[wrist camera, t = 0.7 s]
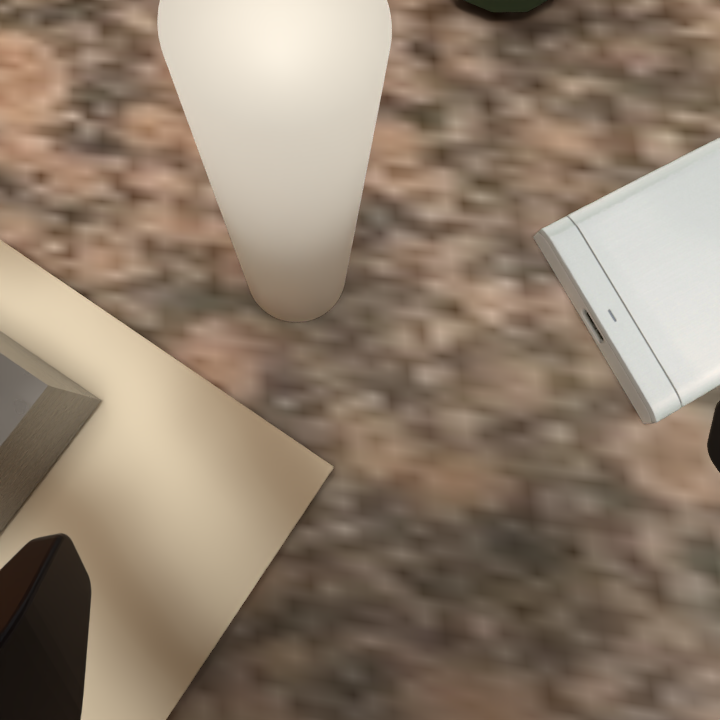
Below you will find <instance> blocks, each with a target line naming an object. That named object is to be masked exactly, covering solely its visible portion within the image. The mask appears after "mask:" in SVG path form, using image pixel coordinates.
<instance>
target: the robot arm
mask: <svg viewBox="0 0 720 720" xmlns="http://www.w3.org/2000/svg"><path fill="white" fill-rule="evenodd" d="M707 448H708V453H709V456H710V458H711V460H712V462H713V464H714V465H715V467H716V468H717V470H718V471H719V472H720V401H719V402H718V403H717V405H716V408H715V412H714V416H713V420H712V425H711V429H710V433H709V438H708V443H707ZM91 594H92V591H91V582H90V578H89V575H88V573H87V571H86V569H85V567H84V564H83V562H82V560H81V558H80V556H79V554H78V552H77V550H76V548H75V546H74V544H73V541H72V540H71V538H70V537H69V536H68V535H67V534H64V533H58V534H53V535H48V536H43V537H38V538H35V539H32V540H30V541H29V542H28V543H27V544H25V545H24V546H23V547H22V548H21V549H20V550H19V551H18V552H17V553H16V554H15V555H14V556H13V557H12V558H11V559H10V560H9V561H8V562H7V563H6V564H5V565H4V566H3V567H2V568H1V569H0V720H81V714H82V705H83V695H84V684H85V671H86V658H87V646H88V633H89V621H90V608H91Z"/></svg>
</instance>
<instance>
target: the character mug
mask: <svg viewBox="0 0 720 720" xmlns="http://www.w3.org/2000/svg"><path fill="white" fill-rule="evenodd" d="M464 1H466V2H469V3H471V4H474V5H476V6H478V7H481V8H483V9H486V10H488V11H491V12H528V11H530V10H531V9H533V8H535V7H537V6H538V5H540V4H542V3H544V2H546V1H547V0H464Z"/></svg>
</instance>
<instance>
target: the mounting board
mask: <svg viewBox="0 0 720 720" xmlns="http://www.w3.org/2000/svg"><path fill="white" fill-rule="evenodd" d="M0 331H1V332H3V333H4V334H5V335H7V336H8V337H10V338H11V339H13V340H14V341H16V342H17V343H19V344H20V345H21V346H23V347H24V348H26V349H27V350H29V351H30V352H32V353H33V354H35V355H36V356H38V357H39V358H40V359H42V360H43V361H45V362H46V363H48V364H49V365H51V366H52V367H54V368H55V369H56V370H58V371H59V372H61V373H62V374H64V375H65V376H67V377H68V378H70V379H71V380H73V381H74V382H75V383H77V384H78V385H80V386H81V387H83V388H84V389H86V390H87V391H89V392H90V393H92V394H93V395H94V396H96V397H97V398H99V399H100V400H101V402H100V403H99V404H98V406H97V407H96V408H95V410H94V411H93V412H92V413H91V415H90V416H89V417H88V419H87V420H86V421H85V423H84V424H83V425H82V427H81V428H80V429H79V431H78V432H77V433H76V434H75V436H74V437H73V438H72V440H71V441H70V442H69V444H68V445H67V446H66V448H65V449H64V450H63V451H62V453H61V454H60V455H59V457H58V458H57V459H56V461H55V462H54V463H53V465H52V466H51V467H50V468H49V470H48V471H47V472H46V474H45V475H44V476H43V478H42V479H41V480H40V482H39V483H38V484H37V486H36V487H35V488H34V489H33V491H32V492H31V493H30V495H29V496H28V497H27V499H26V500H25V501H24V503H23V504H22V505H21V506H20V508H19V509H18V510H17V512H16V513H15V514H14V516H13V517H12V518H11V520H10V521H9V522H8V523H7V525H6V526H5V527H4V529H3V530H2V531H1V533H0V569H1V568H2V567H3V566H4V565H5V564H6V563H7V562H8V561H9V560H10V559H11V558H12V557H13V556H14V555H15V554H16V553H17V552H18V551H19V550H20V549H21V548H22V547H23V546H24V545H25V544H27V543H28V542H29V541H30V540H32V539H35V538H38V537H43V536H48V535H53V534H58V533H64V534H67V535H68V536H69V537H70V538H71V540H72V541H73V544H74V546H75V548H76V550H77V552H78V554H79V556H80V558H81V560H82V562H83V564H84V567H85V569H86V571H87V573H88V575H89V578H90V582H91V591H92V594H91V608H90V621H89V633H88V646H87V658H86V671H85V684H84V695H83V705H82V714H81V720H166V719H167V717H168V716H169V714H170V713H171V711H172V710H173V708H174V707H175V705H176V704H177V702H178V701H179V699H180V698H181V696H182V695H183V693H184V692H185V690H186V689H187V687H188V686H189V684H190V683H191V681H192V680H193V678H194V677H195V675H196V674H197V672H198V671H199V669H200V668H201V666H202V665H203V663H204V662H205V660H206V659H207V657H208V656H209V654H210V653H211V651H212V650H213V648H214V647H215V645H216V644H217V642H218V641H219V639H220V638H221V636H222V635H223V633H224V632H225V630H226V629H227V627H228V626H229V624H230V623H231V621H232V620H233V618H234V617H235V615H236V614H237V612H238V611H239V609H240V608H241V606H242V605H243V603H244V602H245V600H246V598H247V597H248V595H249V594H250V592H251V591H252V589H253V588H254V586H255V585H256V583H257V582H258V580H259V579H260V577H261V576H262V574H263V573H264V571H265V570H266V568H267V567H268V565H269V564H270V562H271V561H272V559H273V558H274V556H275V555H276V553H277V552H278V550H279V549H280V547H281V546H282V544H283V543H284V541H285V540H286V538H287V537H288V535H289V534H290V532H291V531H292V529H293V528H294V526H295V525H296V523H297V522H298V520H299V519H300V517H301V516H302V514H303V513H304V511H305V510H306V508H307V507H308V505H309V504H310V502H311V501H312V499H313V498H314V496H315V495H316V493H317V492H318V490H319V489H320V487H321V486H322V484H323V483H324V481H325V480H326V478H327V477H328V475H329V474H330V472H331V471H332V469H333V468H334V467H333V466H332V465H330V464H329V463H327V462H326V461H324V460H323V459H321V458H320V457H319V456H317V455H316V454H314V453H313V452H311V451H310V450H308V449H307V448H305V447H304V446H302V445H301V444H299V443H298V442H296V441H295V440H294V439H292V438H291V437H289V436H288V435H286V434H285V433H283V432H282V431H280V430H279V429H277V428H276V427H274V426H273V425H272V424H270V423H269V422H267V421H266V420H264V419H263V418H261V417H260V416H258V415H257V414H255V413H254V412H252V411H251V410H250V409H248V408H247V407H245V406H244V405H242V404H241V403H239V402H238V401H236V400H235V399H233V398H232V397H230V396H229V395H227V394H226V393H225V392H223V391H222V390H220V389H219V388H217V387H216V386H214V385H213V384H211V383H210V382H208V381H207V380H205V379H204V378H203V377H201V376H200V375H198V374H197V373H195V372H194V371H192V370H191V369H189V368H188V367H186V366H185V365H183V364H182V363H180V362H179V361H178V360H176V359H175V358H173V357H172V356H170V355H169V354H167V353H166V352H164V351H163V350H161V349H160V348H158V347H157V346H156V345H154V344H153V343H151V342H150V341H148V340H147V339H145V338H144V337H142V336H141V335H139V334H138V333H136V332H135V331H134V330H132V329H131V328H129V327H128V326H126V325H125V324H123V323H122V322H120V321H119V320H117V319H116V318H114V317H113V316H111V315H110V314H109V313H107V312H106V311H104V310H103V309H101V308H100V307H98V306H97V305H95V304H94V303H92V302H91V301H89V300H88V299H87V298H85V297H84V296H82V295H81V294H79V293H78V292H76V291H75V290H73V289H72V288H70V287H69V286H67V285H66V284H65V283H63V282H62V281H60V280H59V279H57V278H56V277H54V276H53V275H51V274H50V273H48V272H47V271H45V270H44V269H42V268H41V267H40V266H38V265H37V264H35V263H34V262H32V261H31V260H29V259H28V258H26V257H25V256H23V255H22V254H20V253H19V252H18V251H16V250H15V249H13V248H12V247H10V246H9V245H7V244H6V243H4V242H3V241H1V240H0Z"/></svg>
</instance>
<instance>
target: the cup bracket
mask: <svg viewBox="0 0 720 720" xmlns="http://www.w3.org/2000/svg"><path fill="white" fill-rule="evenodd" d="M100 402H101V400H100V399H99V398H97V397H96V396H94V395H93V394H92V393H90V392H89V391H87V390H86V389H84V388H83V387H81V386H80V385H78V384H77V383H75V382H74V381H73V380H71V379H70V378H68V377H67V376H65V375H64V374H62V373H61V372H59V371H58V370H56V369H55V368H54V367H52V366H51V365H49V364H48V363H46V362H45V361H43V360H42V359H40V358H39V357H38V356H36V355H35V354H33V353H32V352H30V351H29V350H27V349H26V348H24V347H23V346H21V345H20V344H19V343H17V342H16V341H14V340H13V339H11V338H10V337H8V336H7V335H5V334H4V333H3V332H1V331H0V533H1V531H2V530H3V529H4V527H5V526H6V525H7V523H8V522H9V521H10V520H11V518H12V517H13V516H14V514H15V513H16V512H17V510H18V509H19V508H20V506H21V505H22V504H23V503H24V501H25V500H26V499H27V497H28V496H29V495H30V493H31V492H32V491H33V489H34V488H35V487H36V486H37V484H38V483H39V482H40V480H41V479H42V478H43V476H44V475H45V474H46V472H47V471H48V470H49V468H50V467H51V466H52V465H53V463H54V462H55V461H56V459H57V458H58V457H59V455H60V454H61V453H62V451H63V450H64V449H65V448H66V446H67V445H68V444H69V442H70V441H71V440H72V438H73V437H74V436H75V434H76V433H77V432H78V431H79V429H80V428H81V427H82V425H83V424H84V423H85V421H86V420H87V419H88V417H89V416H90V415H91V413H92V412H93V411H94V410H95V408H96V407H97V406H98V404H99V403H100Z"/></svg>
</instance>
